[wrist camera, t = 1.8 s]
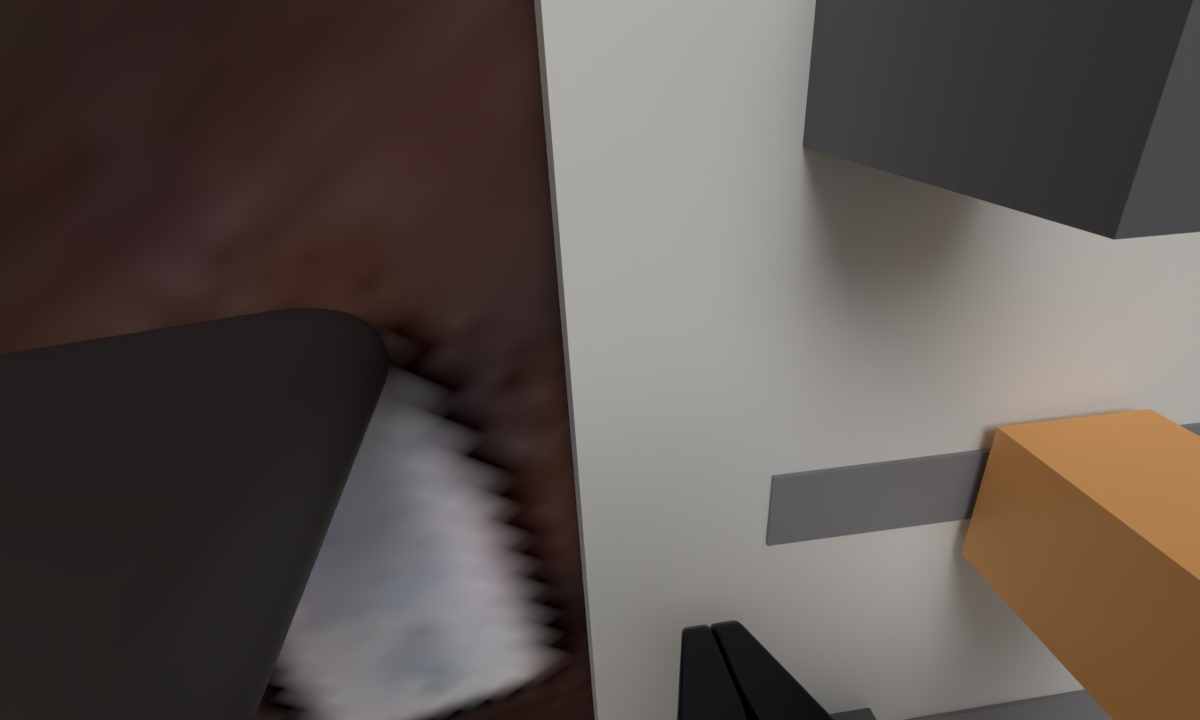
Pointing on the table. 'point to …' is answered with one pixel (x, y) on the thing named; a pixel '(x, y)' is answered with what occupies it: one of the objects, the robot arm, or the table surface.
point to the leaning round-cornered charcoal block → (171, 508)
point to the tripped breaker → (1100, 553)
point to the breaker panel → (854, 316)
